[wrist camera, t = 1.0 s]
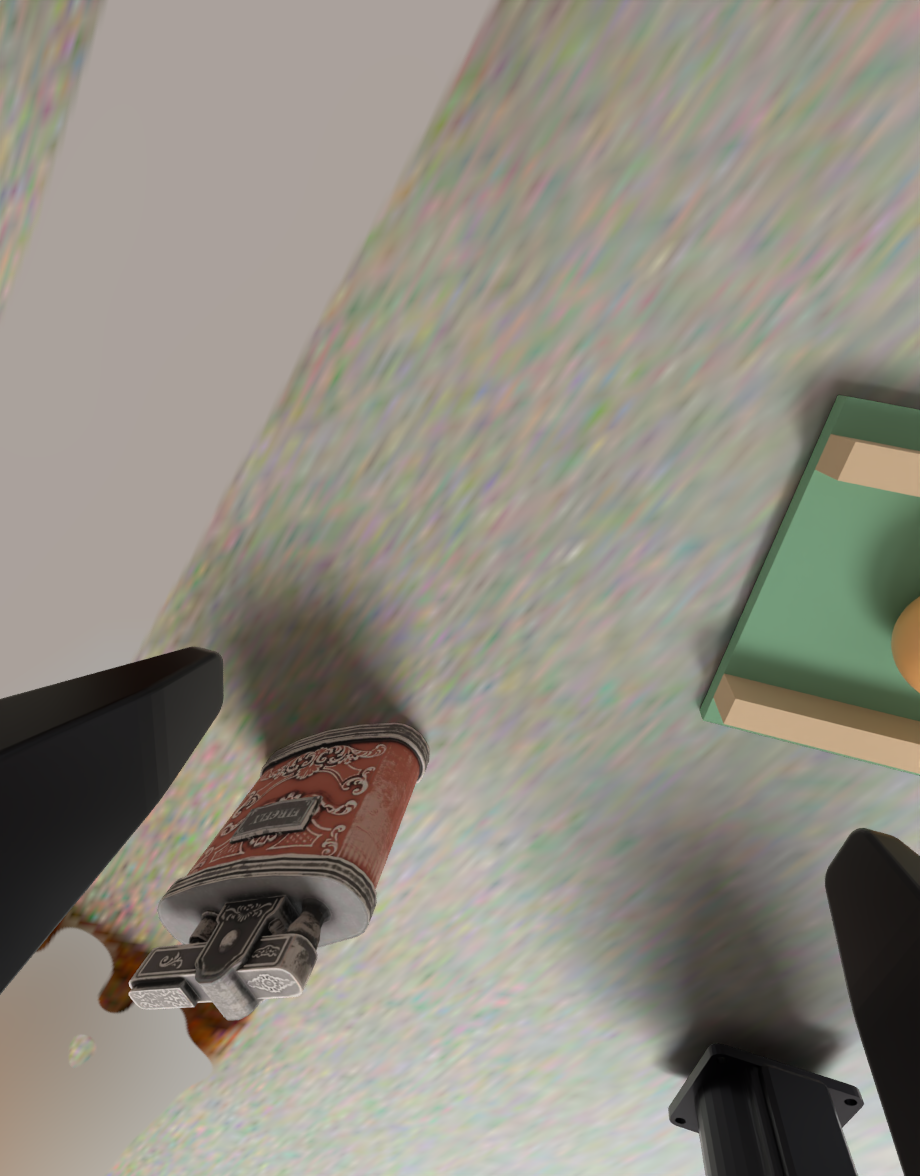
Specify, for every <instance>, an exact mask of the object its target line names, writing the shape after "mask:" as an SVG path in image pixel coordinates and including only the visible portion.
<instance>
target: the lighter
mask: <svg viewBox="0 0 920 1176" xmlns="http://www.w3.org/2000/svg"><path fill="white" fill-rule="evenodd" d="M429 755H430V751H429V748H428V745H427V742H426V741H425V740H424V738H423V737H422V735H421V734H420V733H418V732H417V731H416V730H415V729H414V728H412V727H410V726H407V725H405V724H401V723H382V724H363V725H356V726H350V727H344V728H339V729H333V730H328V731H325V732H322V733H319V734H316V735H313V736H309V737H306V738H303V739H300V740H298V741H296V742H294V743H292V744H290V745H288V746H286V747H284V748H282V749H280V750H278V751H276V752H275V753H274V754H273V755H272V756H271V757H270V758H269V760H268V761H267V762H266V764H265V765H264V766H263V767H262V770H261V773H260V779H259V780H258V781H257V783H256V784H255V785H254V787H253V788H252V789H251V791H250V792H249V793H248V795H247V796H246V797H245V799H244V800H243V801H242V803H241V804H240V805H239V807H238V808H237V809H236V811H235V812H234V813H233V815H232V816H231V817H230V819H229V820H228V821H227V823H226V824H225V825H224V826H223V828H222V829H221V830H220V832H219V833H218V834H217V836H216V837H215V838H214V840H213V841H212V842H211V844H210V845H209V846H208V848H207V849H206V850H205V852H204V853H203V854H202V856H201V857H200V858H199V860H198V861H197V862H196V864H195V865H194V866H193V868H192V869H191V870H190V872H189V873H188V874H187V876H185V877H183V878H180V879H178V880H177V881H176V882H175V883H173V885H172V886H171V887H170V889H169V890H168V891H167V893H166V894H165V895H164V897H163V898H162V899H161V900H160V902H159V904H158V908H157V912H158V916H159V919H160V921H161V923H162V924H163V926H164V928H165V929H166V930H167V931H168V932H169V933H170V934H171V935H172V936H173V937H174V938H175V939H177V940H178V941H180V942H181V943H182V944H184V945H175V946H165V947H157V948H153V950H152V951H151V952H150V954H149V955H148V956H147V958H146V959H145V960H144V962H143V963H142V965H141V966H140V967H139V969H138V970H137V972H136V973H135V974H134V976H133V977H132V979H131V980H130V981H129V986H130V988H131V991H130V992H129V996H130V997H131V999H132V1000H133V1001H134V1002H135V1004H136V1005H138V1006H139V1007H140V1008H142V1009H164V1008H165V1009H166V1008H185V1007H195V1006H196V1004H197V1003H201V1002H213V1003H214V1005H215V1006H216V1007H217V1008H218V1010H219V1011H220V1012H221V1014H222V1015H223V1016H224V1017H225V1018H226V1019H227V1020H240V1019H242V1018H244V1017H246V1016H248V1015H249V1014H250V1013H251V1012H252V1011H254V1009H255V1008H256V1007H257V1006H258V1005H259V1004H260V1003H261V1002H263V1001H264V1000H265V999H270V998H287V997H297V996H300V995H301V994H302V993H303V990H304V988H305V986H306V983H307V981H308V979H309V976H310V974H311V972H312V969H313V967H314V965H315V963H316V960H317V956H318V954H317V952H316V949H317V948H318V947H323V946H326V945H330V944H333V943H337V942H340V941H344V940H347V939H351V938H354V937H357V936H359V935H361V934H362V933H364V932H365V930H366V928H367V927H368V925H369V922H370V919H371V917H372V914H373V911H374V909H375V906H376V903H377V893H376V890H375V889H376V887H377V884H378V881H379V879H380V876H381V873H382V871H383V868H384V866H385V863H386V860H387V858H388V855H389V852H390V850H391V847H392V844H393V842H394V839H395V837H396V834H397V831H398V829H399V826H400V823H401V821H402V818H403V816H404V813H405V810H406V808H407V805H408V802H409V800H410V797H411V794H412V792H413V789H414V787H415V784H417V783H418V782H420V781H421V779H422V777H423V775H424V773H425V770H426V768H427V765H428V762H429Z"/></svg>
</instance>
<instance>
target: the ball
mask: <svg viewBox="0 0 920 1176" xmlns="http://www.w3.org/2000/svg"><path fill="white" fill-rule="evenodd" d="M891 649H892V654H893V659H894V661H895V664H896V666H897V668H898V670H899V672H900V673H901V675H902V676H903V678H904V679H905V680H906V681H907V682H908V683H909V684H910V686H911V687H913V688H914V689H915V690H916V691H917V692H919V693H920V597H918V598H917V599H915V600H914V601H913V602H911V603H910V604H909V605H908V606H907V607H906V608H905V609H904V611H903V612H902V613H901V615H900V616H899V618H898V619H897V621H896V623H895V625H894V629H893V632H892V638H891Z"/></svg>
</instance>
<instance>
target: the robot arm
mask: <svg viewBox="0 0 920 1176" xmlns="http://www.w3.org/2000/svg"><path fill="white" fill-rule="evenodd" d="M222 703H223V659H222V657H221V655H220V654H219V653H217V652H214V651H211V650H207V649H203V648H200V647H188V648H185V649H181V650H178V651H174V652H170V653H167V654H163V655H159V656H156V657H152V658H148V659H145V660H141V661H137V662H134V663H130V664H126V665H123V666H119V667H116V668H112V669H108V670H105V671H101V672H97V673H94V674H90V675H86V676H83V677H79V678H75V679H72V680H68V681H65V682H61V683H57V684H54V685H50V686H46V687H42V688H39V689H35V690H32V691H28V692H24V693H21V694H17V695H13V696H10V697H6V698H3V699H0V994H1V993H2V992H3V991H4V989H5V988H6V987H7V986H8V984H9V983H10V982H11V981H12V980H13V979H14V977H15V976H16V975H17V973H18V972H19V971H20V970H21V969H22V968H23V966H24V965H25V964H26V963H27V961H28V960H29V959H30V958H31V957H32V955H33V954H34V953H35V952H36V951H37V949H38V948H39V947H40V946H41V945H42V943H43V942H44V941H45V940H46V938H47V937H48V936H49V935H50V934H51V932H52V931H53V930H54V929H55V928H56V926H57V925H58V924H59V923H60V922H61V920H62V919H63V918H64V917H65V915H66V914H67V913H68V912H69V911H70V909H71V908H72V907H73V906H74V905H75V903H76V902H77V901H78V900H79V898H80V897H81V896H82V895H83V894H84V892H85V891H86V890H87V889H88V888H89V886H90V885H91V884H92V883H93V881H94V880H95V879H96V878H97V877H98V875H99V874H100V873H101V872H102V871H103V869H104V868H105V867H106V866H107V865H108V863H109V862H110V861H111V860H112V858H113V857H114V856H115V855H116V854H117V852H118V851H119V850H120V849H121V848H122V846H123V845H124V844H125V843H126V841H127V840H128V839H129V838H130V837H131V835H132V834H133V833H134V832H135V831H136V829H137V828H138V827H139V826H140V824H141V823H142V822H143V821H144V820H145V818H146V817H147V816H148V815H149V813H150V812H151V811H152V810H153V808H154V807H155V806H156V805H157V803H158V802H159V801H160V799H161V798H162V797H163V795H164V794H165V792H166V791H167V790H168V788H169V787H170V785H171V784H172V782H173V781H174V779H175V778H176V776H177V775H178V773H179V772H180V770H181V769H182V767H183V766H184V764H185V763H186V761H187V760H188V758H189V757H190V755H191V754H192V752H193V751H194V749H195V748H196V746H197V745H198V744H199V742H200V741H201V739H202V738H203V736H204V735H205V733H206V732H207V730H208V729H209V727H210V726H211V724H212V723H213V721H214V720H215V718H216V717H217V715H218V713H219V711H220V709H221V706H222ZM825 888H826V893H827V898H828V902H829V907H830V912H831V916H832V921H833V925H834V930H835V934H836V939H837V944H838V948H839V953H840V957H841V962H842V966H843V971H844V976H845V980H846V985H847V989H848V994H849V998H850V1002H851V1006H852V1010H853V1014H854V1017H855V1021H856V1024H857V1027H858V1031H859V1034H860V1038H861V1041H862V1044H863V1047H864V1050H865V1053H866V1057H867V1060H868V1063H869V1066H870V1069H871V1072H872V1075H873V1079H874V1082H875V1085H876V1088H877V1091H878V1094H879V1097H880V1101H881V1104H882V1107H883V1110H884V1113H885V1116H886V1120H887V1123H888V1126H889V1129H890V1132H891V1135H892V1138H893V1142H894V1145H895V1148H896V1151H897V1154H898V1157H899V1160H900V1164H901V1167H902V1170H903V1173H904V1176H920V856H919V855H918V854H916V853H915V852H914V851H913V850H911V849H910V848H909V847H908V846H906V845H905V844H904V843H903V842H902V841H900V840H899V839H897V838H895V837H893V836H891V835H888V834H884V833H881V832H877V831H873V830H870V829H866V828H859V829H856V830H855V831H853V832H852V833H851V834H850V835H849V837H848V838H847V840H846V841H845V843H844V844H843V846H842V847H841V849H840V850H839V852H838V853H837V855H836V856H835V858H834V859H833V861H832V862H831V864H830V865H829V867H828V869H827V872H826V876H825ZM863 1105H864V1102H863V1099H862V1097H861V1094H860V1092H859V1089H857V1088H856V1087H855V1086H852V1085H849V1084H846V1083H843V1082H840V1081H837V1080H834V1079H831V1078H827V1077H824V1076H821V1075H818V1074H815V1073H812V1072H809V1071H805V1070H802V1069H799V1068H796V1067H793V1066H790V1065H787V1064H783V1063H780V1062H777V1061H774V1060H771V1059H768V1058H765V1057H762V1056H758V1055H755V1054H752V1053H749V1052H746V1051H743V1050H740V1049H736V1048H733V1047H730V1046H727V1045H724V1044H712V1045H710V1046H709V1047H708V1048H707V1050H706V1051H705V1053H704V1054H703V1056H702V1057H701V1059H700V1061H699V1062H698V1064H697V1065H696V1067H695V1068H694V1070H693V1071H692V1073H691V1074H690V1076H689V1077H688V1079H687V1080H686V1082H685V1083H684V1085H683V1086H682V1088H681V1089H680V1091H679V1092H678V1094H677V1095H676V1097H675V1098H674V1100H673V1102H672V1103H671V1105H670V1106H669V1108H668V1111H669V1120H670V1122H671V1123H673V1124H674V1125H676V1126H679V1127H682V1128H685V1129H688V1130H691V1131H694V1132H697V1133H699V1136H700V1142H701V1149H702V1155H703V1162H704V1168H705V1174H706V1176H858V1174H857V1171H856V1168H855V1165H854V1162H853V1159H852V1157H851V1154H850V1151H849V1148H848V1145H847V1142H846V1139H845V1136H844V1133H843V1130H842V1127H843V1126H844V1125H845V1124H846V1123H847V1122H848V1121H849V1120H850V1119H851V1118H852V1117H853V1116H854V1115H855V1114H856V1113H857V1112H858V1111H859V1110H860V1109H861V1108H862V1106H863Z"/></svg>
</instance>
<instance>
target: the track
mask: <svg viewBox="0 0 920 1176" xmlns="http://www.w3.org/2000/svg"><path fill="white" fill-rule="evenodd" d="M918 597H920V410H918V409H913V408H907V407H902V406H897V405H891V404H886V403H880V402H875V401H870V400H864V399H859V398H854V397H848V396H842V395H838V396H837V398H836V401H835V403H834V405H833V407H832V410H831V412H830V414H829V417H828V419H827V421H826V423H825V426H824V428H823V430H822V432H821V435H820V437H819V439H818V442H817V444H816V446H815V448H814V451H813V453H812V455H811V458H810V460H809V462H808V464H807V467H806V469H805V471H804V474H803V476H802V478H801V480H800V483H799V485H798V487H797V489H796V492H795V494H794V496H793V499H792V501H791V503H790V505H789V508H788V510H787V512H786V515H785V517H784V519H783V521H782V524H781V526H780V528H779V531H778V533H777V535H776V537H775V540H774V542H773V544H772V547H771V549H770V551H769V553H768V556H767V558H766V560H765V562H764V565H763V567H762V569H761V572H760V574H759V576H758V578H757V581H756V583H755V585H754V588H753V590H752V592H751V594H750V597H749V599H748V601H747V604H746V606H745V608H744V610H743V613H742V615H741V617H740V619H739V622H738V624H737V626H736V629H735V631H734V633H733V635H732V638H731V640H730V642H729V645H728V647H727V649H726V651H725V654H724V656H723V658H722V661H721V663H720V665H719V667H718V670H717V672H716V674H715V677H714V679H713V681H712V683H711V686H710V688H709V690H708V692H707V695H706V697H705V699H704V702H703V704H702V706H701V708H700V713H701V716H702V719H703V721H707V722H711V723H715V724H719V725H723V726H727V727H731V728H735V729H739V730H743V731H746V732H750V733H754V734H758V735H762V736H766V737H770V738H774V739H778V740H782V741H786V742H790V743H793V744H797V745H801V746H805V747H809V748H813V749H817V750H821V751H825V752H829V753H833V754H836V755H840V756H844V757H848V758H852V759H856V760H860V761H864V762H868V763H872V764H876V765H879V766H883V767H887V768H891V769H895V770H899V771H903V772H907V773H911V774H915V775H919V776H920V693H919V692H917V691H916V690H915V689H914V688H913V687H911V686H910V684H909V683H908V682H907V681H906V680H905V679H904V678H903V676H902V675H901V673H900V672H899V670H898V668H897V666H896V664H895V661H894V659H893V654H892V649H891V638H892V632H893V629H894V625H895V623H896V621H897V619H898V618H899V616H900V615H901V613H902V612H903V611H904V609H905V608H906V607H907V606H908V605H909V604H910V603H911V602H913V601H914V600H915V599H917V598H918Z"/></svg>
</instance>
